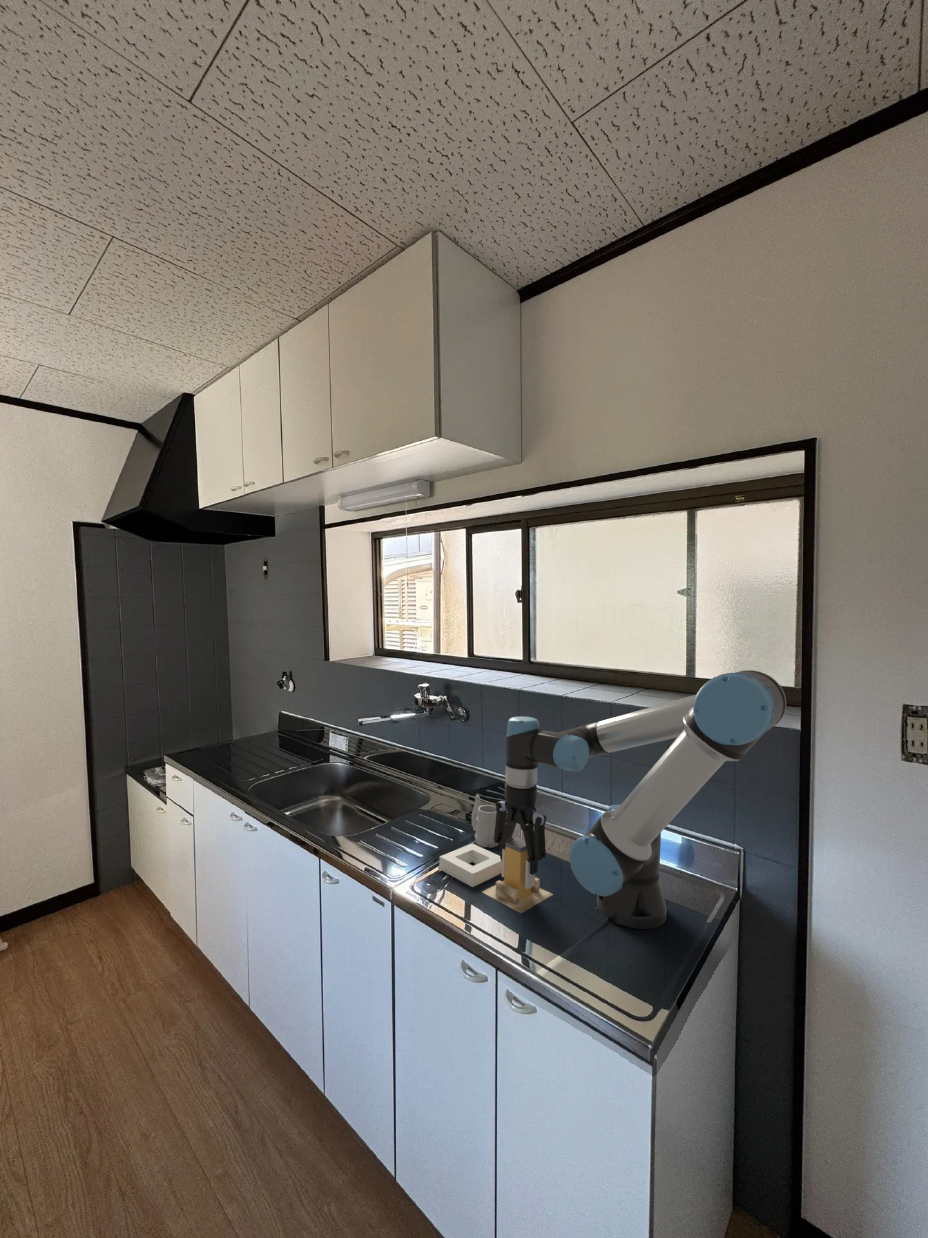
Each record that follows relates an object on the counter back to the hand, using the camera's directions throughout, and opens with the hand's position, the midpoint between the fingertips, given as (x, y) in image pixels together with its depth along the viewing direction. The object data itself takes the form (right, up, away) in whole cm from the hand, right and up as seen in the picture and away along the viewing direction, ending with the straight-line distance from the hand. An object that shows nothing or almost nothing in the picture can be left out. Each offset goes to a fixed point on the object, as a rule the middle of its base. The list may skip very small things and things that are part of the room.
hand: (517, 880), depth 125 cm
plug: (0, -3, 0) cm, 3 cm away
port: (-11, -3, +11) cm, 15 cm away
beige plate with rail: (0, -4, 0) cm, 4 cm away
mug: (-7, -4, +31) cm, 32 cm away
